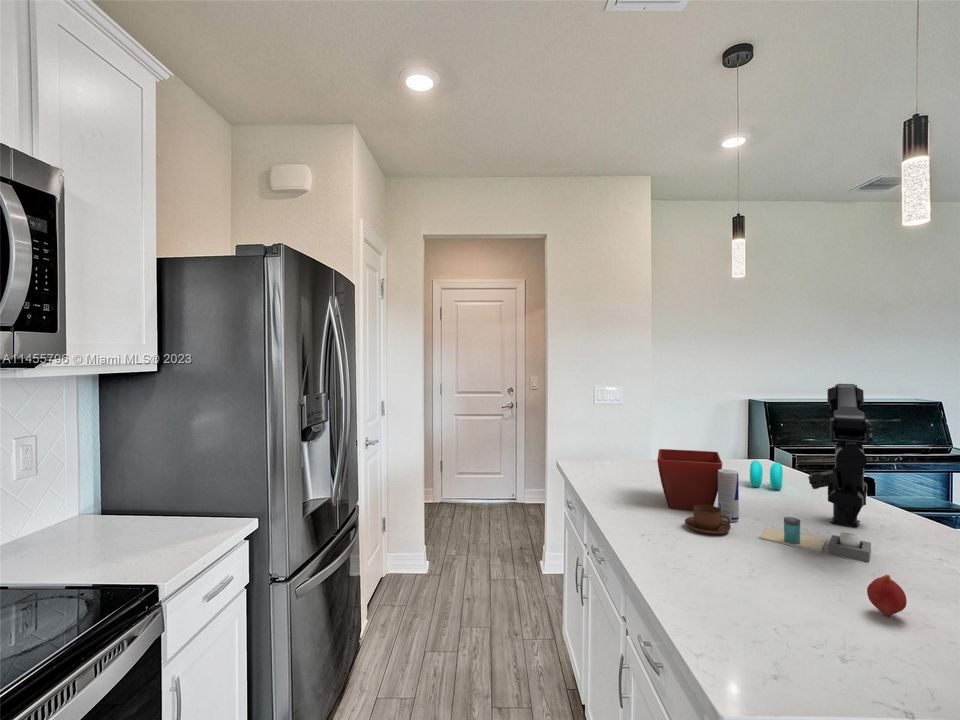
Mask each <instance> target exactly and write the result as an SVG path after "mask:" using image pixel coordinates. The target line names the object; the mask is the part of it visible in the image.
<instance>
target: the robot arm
mask: <svg viewBox="0 0 960 720" xmlns="http://www.w3.org/2000/svg"><path fill="white" fill-rule="evenodd" d="M826 392H827V405H828V406H830V407H829V408H830V412H831V413H832V414H833V417H830V442H832V443H835V445H834V448H835V449H834V450H835V451H834V459H835V460H834V463H835V464H834V467H833V468H832V470H827V471H822V472H820V471H819V472H816V473H815V472H814V473H811V474H809V475H808V476H807V479H808V480H809V481H808V483H809V484H810V486H811V488H812V490H818V489H820V488H826V487H827V502H829V503H831V504H833V505H832V508H833V509H832V511H833V513H832V515H833V516H832V517H831V519H830V523H831V524H837V525H842V526H847V527H852V528H859V527H860V526H859V525H860V524H861V521H860V520H859V519H858V516H859V514H860V512H861V509H862V508H863V507H864V506H867V494H868V483H867V482H865V481H864V480H865V477H864V473H865V467H866V466H867V462H868V458H867V457H866V454H865V451H864V448H865V447H864V446H863V445H868V446H869V445H871V442H873V438H874V437H873V429H872V428H873V427H872V424H871V423H870V420H869V419H866V415H865V412H864V411H862V410H861V406H864V402H865V401H864V395H865V394H864V390H863V389H862V388H859V387H858V385H857V384H854V383H838V384H835V385H834V386H833V387H831V388H827V391H826ZM834 436H835V437H834Z"/></svg>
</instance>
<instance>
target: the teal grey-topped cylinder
mask: <svg viewBox="0 0 960 720" xmlns="http://www.w3.org/2000/svg"><path fill="white" fill-rule="evenodd" d="M783 530H784V541H785V542H787V543H790V544H800V534H801V520H800V519H799V518H797V517H792V516H784V517H783Z"/></svg>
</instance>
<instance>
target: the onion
mask: <svg viewBox="0 0 960 720" xmlns="http://www.w3.org/2000/svg"><path fill="white" fill-rule="evenodd" d="M866 588H867V590H866V593H867V597H868V598H867V599H868V600H869V601H870V603H871V604H872V605H873V607H874V608H875V609H877V610H878V611H879V612H881V613H882V614H883V615H884V616H885V617H891V616H893V615H895V614H897V613H901V612H902V611H904V609H906V607H907V596H906V593H905V591H904V589H902V587H901V586H900V585H899V584H898V583H897V582H896V581H894V580H893V579H892V578H891V575H890V574H886V573H885V574H884V575H883V576H880V577H878V578H875V579H874V580H872V581H871V583H869V584H868V586H867V587H866Z"/></svg>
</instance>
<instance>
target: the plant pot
mask: <svg viewBox="0 0 960 720" xmlns="http://www.w3.org/2000/svg"><path fill="white" fill-rule="evenodd" d="M657 468H658V473H659V478H660V483H661V487H662V490H663V494H664V497H665V500H666V503H667V506H668V508H669V509H672V510H673V509H674V510H681V511H683V510H684V511H692V512H694V510H693V507H694V506H696V505H710V506H715V503H716V500H717V497H718V470H720V469H723V462H722V459H721V457H720V454H719V452H718V451H710V450H709V451H708V450H707V451H706V450H690V449H689V450H688V449H670V448H667V449H666V448H660V449H659V448H658V454H657Z"/></svg>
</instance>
